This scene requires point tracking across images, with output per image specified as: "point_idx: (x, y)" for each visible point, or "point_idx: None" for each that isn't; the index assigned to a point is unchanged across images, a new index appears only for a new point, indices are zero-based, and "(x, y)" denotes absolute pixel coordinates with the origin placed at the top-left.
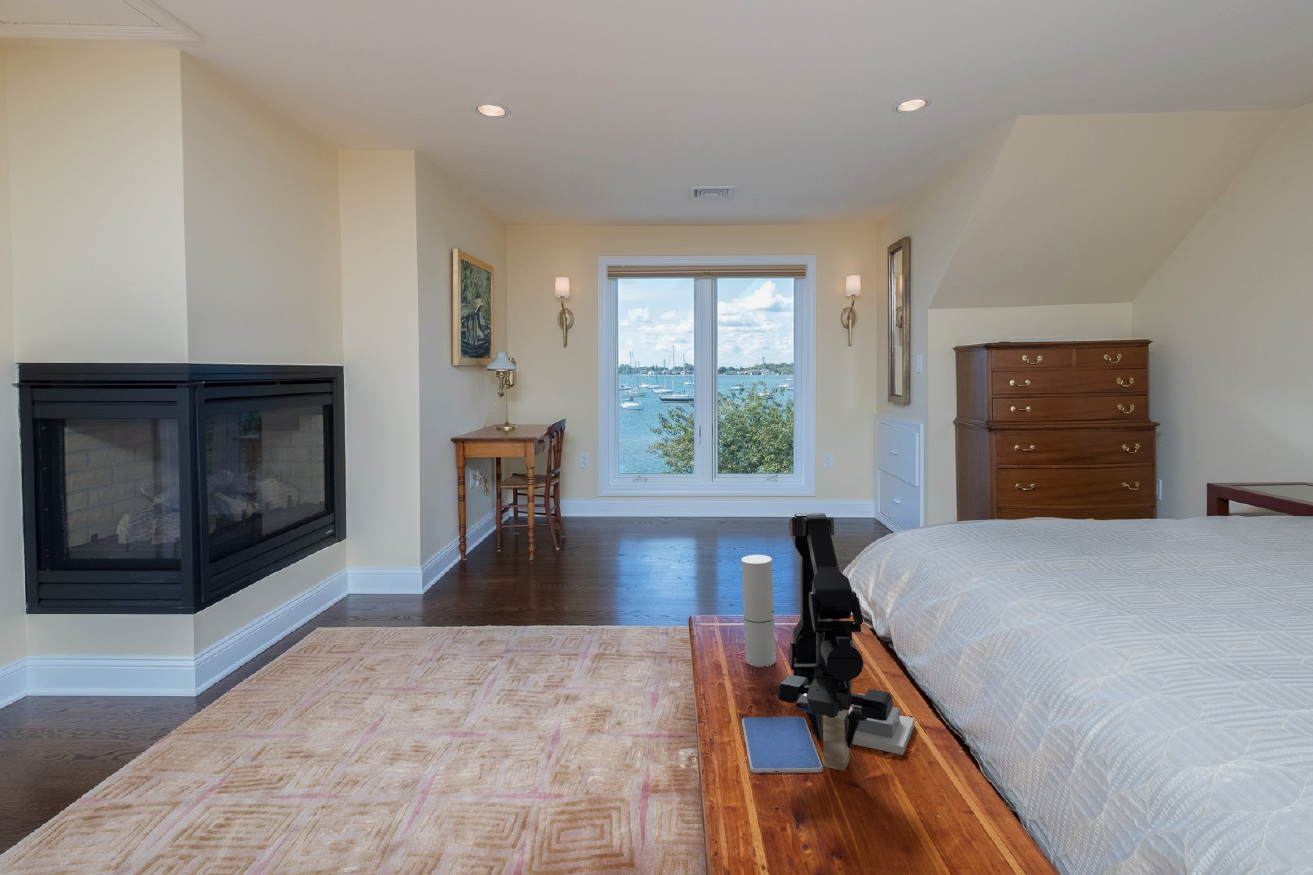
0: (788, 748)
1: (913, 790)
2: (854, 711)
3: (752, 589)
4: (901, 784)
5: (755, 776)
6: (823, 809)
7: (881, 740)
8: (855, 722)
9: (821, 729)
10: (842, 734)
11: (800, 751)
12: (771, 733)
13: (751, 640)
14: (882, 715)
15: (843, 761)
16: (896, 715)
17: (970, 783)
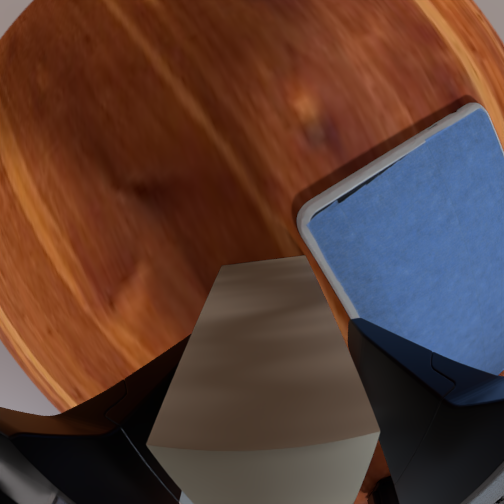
0: (443, 283)
1: (35, 265)
2: (32, 492)
3: None
4: (60, 278)
5: (460, 82)
6: (194, 6)
7: None
8: (60, 420)
9: (362, 377)
10: (193, 354)
11: (407, 288)
12: (486, 329)
13: None
14: None
15: (219, 278)
16: (180, 500)
17: (8, 343)
